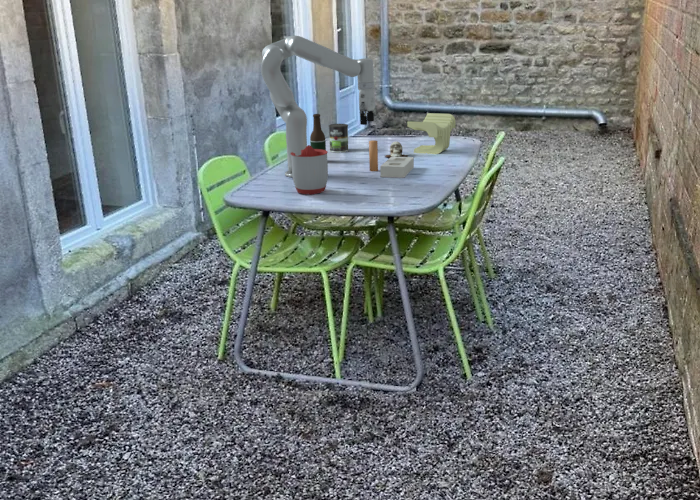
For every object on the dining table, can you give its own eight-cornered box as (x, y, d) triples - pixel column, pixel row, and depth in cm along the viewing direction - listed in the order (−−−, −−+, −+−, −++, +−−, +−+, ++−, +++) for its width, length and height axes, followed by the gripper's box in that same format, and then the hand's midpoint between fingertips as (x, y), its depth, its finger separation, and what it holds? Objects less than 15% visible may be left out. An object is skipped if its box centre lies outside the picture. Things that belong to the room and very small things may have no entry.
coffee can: (345, 153, 386) (344, 126, 382) (327, 152, 389) (326, 126, 385) (351, 149, 395) (350, 123, 391) (333, 148, 398) (332, 123, 394)
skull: (409, 156, 366) (395, 142, 364) (394, 170, 370) (380, 155, 368) (410, 151, 377) (397, 137, 376) (395, 164, 381) (382, 150, 379)
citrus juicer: (306, 185, 319) (304, 140, 312) (336, 190, 308) (335, 143, 302) (282, 192, 307) (279, 146, 301) (312, 198, 297) (309, 150, 290)
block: (404, 177, 326) (404, 166, 325) (380, 177, 329) (380, 166, 328) (413, 167, 346) (413, 157, 345) (391, 166, 349) (391, 156, 348)
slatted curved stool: (436, 157, 367) (437, 122, 361) (407, 155, 374) (407, 121, 368) (455, 147, 392) (455, 114, 387) (427, 145, 399) (427, 113, 393)
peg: (376, 171, 341) (376, 142, 336) (368, 171, 342) (368, 141, 337) (378, 169, 344) (378, 140, 340) (370, 169, 345) (370, 140, 341)
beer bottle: (327, 160, 370) (325, 112, 362) (325, 163, 362) (323, 115, 355) (312, 160, 371) (310, 113, 363) (310, 163, 363) (307, 115, 356)
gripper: (367, 88, 326) (368, 126, 332) (379, 83, 342) (380, 120, 347) (351, 88, 329) (353, 125, 334) (364, 84, 344) (365, 120, 350)
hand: (367, 122), depth 341 cm, fingers open, 9 cm apart
